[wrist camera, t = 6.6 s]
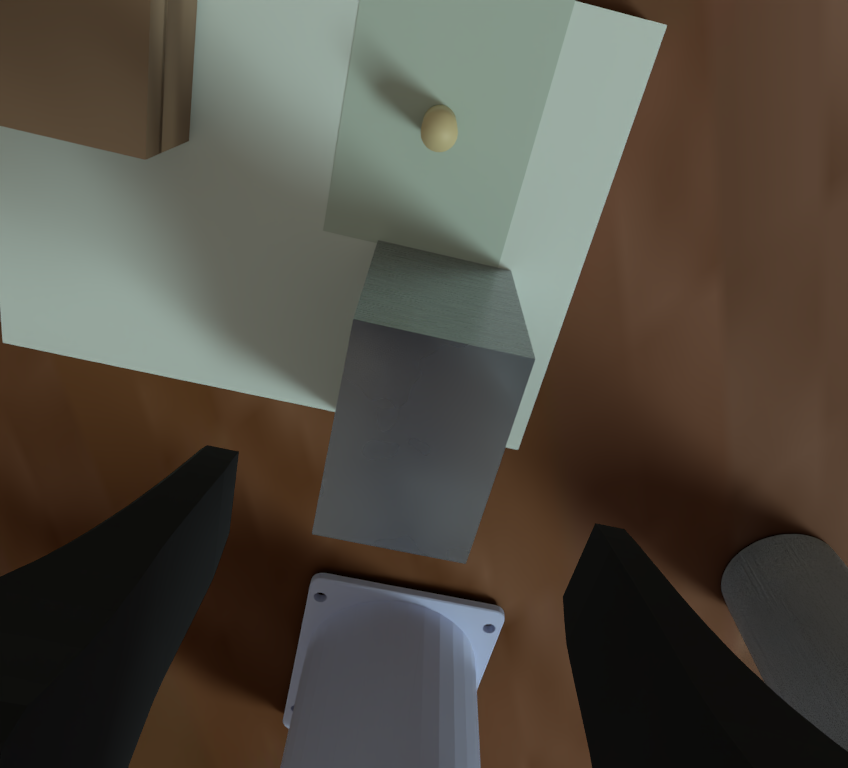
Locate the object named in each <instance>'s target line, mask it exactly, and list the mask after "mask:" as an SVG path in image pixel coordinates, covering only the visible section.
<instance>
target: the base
mask: <svg viewBox="0 0 848 768" xmlns="http://www.w3.org/2000/svg"><path fill="white" fill-rule="evenodd" d="M666 27H667V25H665V24H661V23H657V22H653V21H650V20H646V19H642V18H638V17H634V16H631V15H627V14H623V13H619V12H616V11H612V10H608V9H604V8H601V7H597V6H593V5H589V4H586V3H582V2H578V1H575V0H197V16H196V33H195V49H194V66H193V82H192V99H191V115H190V132H189V141H188V142H185V143H183V144H181V145H179V146H176V147H174V148H172V149H169V150H167V151H165V152H162V153H160V154H158V155H155V156H153V157H151V158H148V159H146V160H144V159H140V158H135V157H131V156H127V155H123V154H118V153H114V152H110V151H106V150H101V149H97V148H93V147H88V146H84V145H80V144H76V143H71V142H67V141H63V140H58V139H54V138H50V137H46V136H41V135H37V134H33V133H28V132H24V131H20V130H16V129H11V128H7V127H3V126H0V312H1V326H2V339H3V343H7V344H12V345H17V346H21V347H26V348H31V349H36V350H41V351H45V352H50V353H55V354H60V355H65V356H69V357H74V358H79V359H84V360H89V361H93V362H98V363H103V364H108V365H113V366H117V367H122V368H127V369H132V370H137V371H141V372H146V373H151V374H156V375H161V376H165V377H170V378H175V379H180V380H185V381H189V382H194V383H199V384H204V385H209V386H213V387H218V388H223V389H228V390H233V391H237V392H242V393H247V394H252V395H257V396H261V397H266V398H271V399H276V400H281V401H285V402H290V403H295V404H300V405H305V406H309V407H314V408H319V409H324V410H329V411H333V412H335V411H336V406H337V401H338V396H339V390H340V385H341V380H342V375H343V370H344V364H345V359H346V354H347V349H348V343H349V338H350V333H351V328H352V323H353V318H354V315H355V312H356V309H357V305H358V302H359V299H360V296H361V293H362V289H363V286H364V283H365V280H366V277H367V273H368V270H369V267H370V264H371V261H372V258H373V254H374V251H375V248H376V245H377V242H378V240H380V241H385V242H389V243H393V244H398V245H402V246H406V247H411V248H415V249H419V250H424V251H428V252H432V253H437V254H441V255H445V256H450V257H454V258H458V259H463V260H467V261H472V262H476V263H480V264H485V265H489V266H493V267H498V268H502V269H506V270H511V272H512V276H513V279H514V283H515V287H516V290H517V294H518V298H519V301H520V305H521V309H522V312H523V316H524V320H525V323H526V327H527V330H528V334H529V338H530V341H531V345H532V349H533V352H534V356H535V362H534V365H533V368H532V371H531V373H530V376H529V379H528V382H527V385H526V388H525V391H524V394H523V397H522V400H521V403H520V406H519V409H518V412H517V415H516V418H515V420H514V423H513V426H512V429H511V432H510V435H509V438H508V441H507V444H506V448H511V449H516V450H518V449H519V446H520V443H521V440H522V438H523V435H524V432H525V429H526V426H527V423H528V420H529V418H530V415H531V412H532V409H533V406H534V403H535V400H536V398H537V395H538V392H539V389H540V386H541V383H542V381H543V378H544V375H545V372H546V369H547V366H548V363H549V361H550V358H551V355H552V352H553V349H554V346H555V343H556V341H557V338H558V335H559V332H560V329H561V326H562V324H563V321H564V318H565V315H566V312H567V309H568V306H569V304H570V301H571V298H572V295H573V292H574V289H575V286H576V284H577V281H578V278H579V275H580V272H581V269H582V267H583V264H584V261H585V258H586V255H587V252H588V249H589V247H590V244H591V241H592V238H593V235H594V232H595V229H596V227H597V224H598V221H599V218H600V215H601V212H602V210H603V207H604V204H605V201H606V198H607V195H608V192H609V190H610V187H611V184H612V181H613V178H614V175H615V172H616V170H617V167H618V164H619V161H620V158H621V155H622V153H623V150H624V147H625V144H626V141H627V138H628V135H629V133H630V130H631V127H632V124H633V121H634V118H635V115H636V113H637V110H638V107H639V104H640V101H641V98H642V96H643V93H644V90H645V87H646V84H647V81H648V78H649V76H650V73H651V70H652V67H653V64H654V61H655V58H656V56H657V53H658V50H659V47H660V44H661V41H662V39H663V36H664V33H665V30H666Z"/></svg>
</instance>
